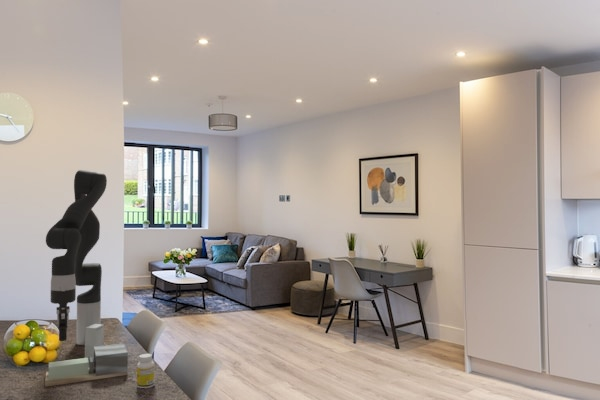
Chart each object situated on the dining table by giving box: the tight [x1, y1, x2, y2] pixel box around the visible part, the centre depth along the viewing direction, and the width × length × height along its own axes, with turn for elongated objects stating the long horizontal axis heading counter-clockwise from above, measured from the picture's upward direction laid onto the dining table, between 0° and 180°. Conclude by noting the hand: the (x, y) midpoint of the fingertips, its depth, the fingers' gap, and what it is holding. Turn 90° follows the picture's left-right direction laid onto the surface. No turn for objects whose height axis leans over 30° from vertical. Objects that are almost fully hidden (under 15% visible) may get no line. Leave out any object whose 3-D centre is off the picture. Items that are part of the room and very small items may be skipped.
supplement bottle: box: [136, 353, 156, 389], centre depth 154 cm, size 5×5×10 cm
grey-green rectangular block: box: [47, 357, 94, 380], centre depth 161 cm, size 6×14×4 cm, turn 117°
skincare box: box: [84, 323, 105, 361], centre depth 182 cm, size 6×4×12 cm
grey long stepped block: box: [44, 342, 129, 388], centre depth 163 cm, size 12×25×8 cm, turn 117°
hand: (62, 338), depth 160 cm, fingers open, 3 cm apart
